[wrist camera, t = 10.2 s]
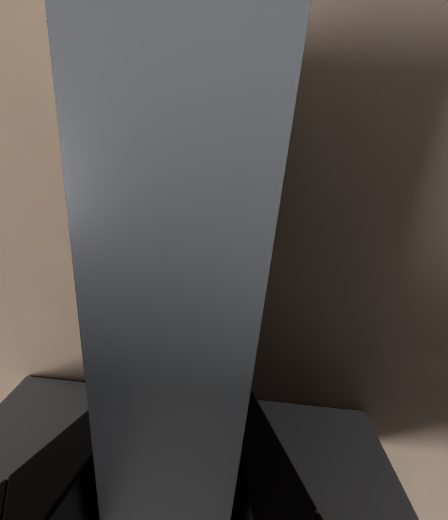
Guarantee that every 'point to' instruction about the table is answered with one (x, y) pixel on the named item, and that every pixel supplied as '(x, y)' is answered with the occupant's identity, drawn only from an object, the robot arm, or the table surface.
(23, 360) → the table surface
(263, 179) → the grey piece
